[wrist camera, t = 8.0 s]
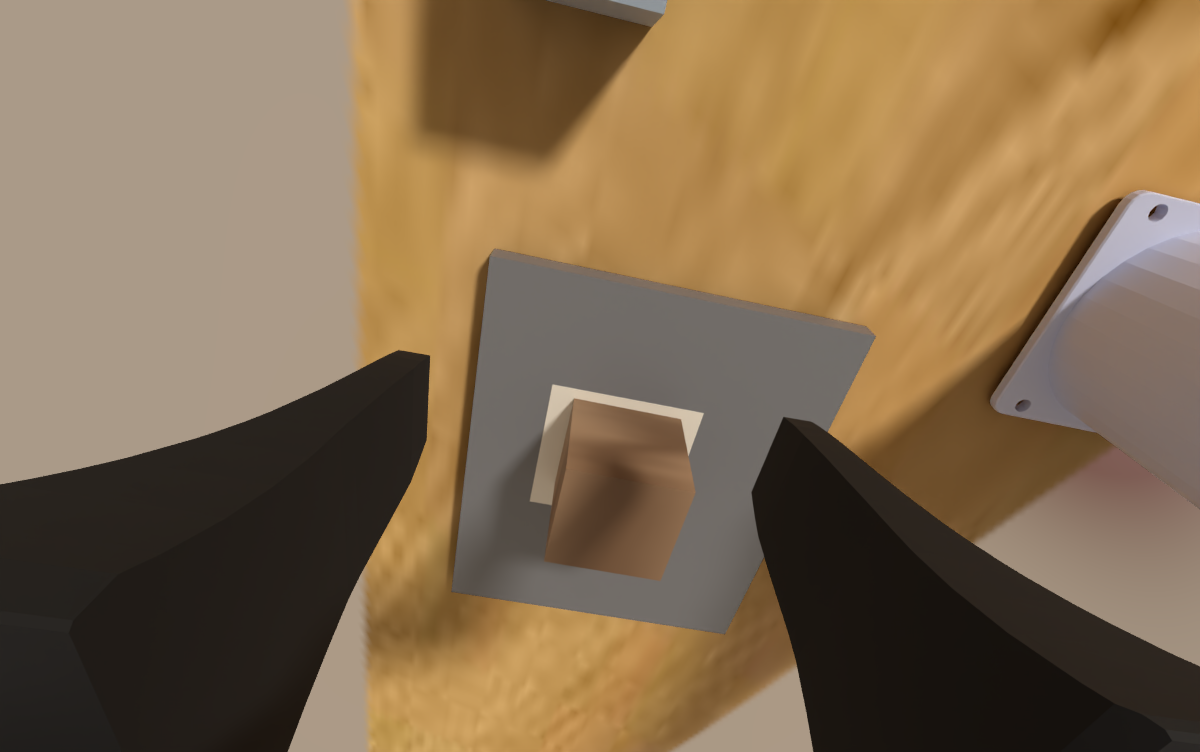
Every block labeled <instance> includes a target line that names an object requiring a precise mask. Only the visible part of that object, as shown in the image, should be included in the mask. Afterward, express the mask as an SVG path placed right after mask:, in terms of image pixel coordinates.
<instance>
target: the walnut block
mask: <svg viewBox="0 0 1200 752" xmlns="http://www.w3.org/2000/svg"><path fill="white" fill-rule="evenodd" d="M695 493H696V492H695V487H694V482H693V477H692V472H691V467H690V462H689V457H688V452H687V446H686V441H685V436H684V431H683V426H682V421H681V419H678V418H673V417H668V416H662V415H657V414H652V413H647V412H642V411H637V410H632V409H627V408H622V407H616V406H611V405H606V404H601V403H596V402H591V401H586V400H581V399H575V398H574V401H573V406H572V410H571V414H570V419H569V423H568V427H567V432H566V436H565V440H564V445H563V449H562V453H561V458H560V462H559V466H558V471H557V475H556V480H555V485H554V492H553V500H552V507H551V514H550V521H549V529H548V536H547V543H546V550H545V558H544V562H550V563H556V564H562V565H568V566H574V567H580V568H586V569H592V570H598V571H604V572H610V573H616V574H622V575H628V576H633V577H639V578H645V579H651V580H657V581H661V578H662V576H663V573H664V571H665V568H666V566H667V563H668V561H669V558H670V556H671V553H672V551H673V548H674V546H675V543H676V541H677V538H678V536H679V533H680V531H681V528H682V526H683V523H684V521H685V518H686V516H687V513H688V511H689V508H690V506H691V503H692V501H693V498H694V496H695Z"/></svg>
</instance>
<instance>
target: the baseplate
mask: <svg viewBox="0 0 1200 752" xmlns="http://www.w3.org/2000/svg"><path fill="white" fill-rule="evenodd" d="M875 337H876V336H875V335H874V334H873V333H872V332H871V331H870V330H869V329H868V328H867V327H866V326H862V325H857V324H852V323H847V322H843V321H838V320H833V319H828V318H823V317H819V316H814V315H809V314H804V313H800V312H795V311H790V310H785V309H781V308H776V307H771V306H766V305H761V304H757V303H752V302H747V301H742V300H738V299H733V298H728V297H723V296H719V295H714V294H709V293H704V292H700V291H695V290H690V289H685V288H680V287H676V286H671V285H666V284H661V283H657V282H652V281H647V280H642V279H638V278H633V277H628V276H623V275H618V274H614V273H609V272H604V271H599V270H595V269H590V268H585V267H580V266H576V265H571V264H566V263H561V262H556V261H552V260H547V259H542V258H537V257H533V256H528V255H523V254H518V253H514V252H509V251H504V250H499V249H494V250H493V252H492V253H491V255H490V259H489V268H488V277H487V285H486V294H485V303H484V312H483V320H482V329H481V338H480V347H479V356H478V364H477V373H476V382H475V391H474V399H473V408H472V417H471V426H470V434H469V443H468V452H467V461H466V470H465V478H464V487H463V496H462V505H461V513H460V522H459V531H458V540H457V548H456V557H455V566H454V575H453V584H452V592H456V593H462V594H469V595H475V596H482V597H488V598H495V599H501V600H508V601H514V602H520V603H527V604H533V605H540V606H546V607H553V608H559V609H566V610H572V611H578V612H585V613H591V614H598V615H604V616H611V617H617V618H624V619H630V620H636V621H643V622H649V623H656V624H662V625H669V626H675V627H682V628H688V629H695V630H701V631H707V632H714V633H720V634H725V633H726V631H727V629H728V627H729V625H730V623H731V621H732V619H733V617H734V615H735V613H736V611H737V609H738V608H739V606H740V604H741V602H742V600H743V598H744V596H745V594H746V592H747V590H748V588H749V586H750V584H751V582H752V580H753V578H754V576H755V574H756V572H757V570H758V568H759V566H760V564H761V562H762V560H763V558H764V554H763V551H762V548H761V544H760V541H759V537H758V533H757V527H756V521H755V516H754V508H753V501H752V494H751V492H752V489H753V487H754V485H755V482H756V480H757V478H758V475H759V473H760V471H761V468H762V466H763V464H764V461H765V459H766V457H767V454H768V452H769V449H770V447H771V445H772V442H773V440H774V438H775V435H776V433H777V431H778V428H779V426H780V424H781V421H782V419H783V417H788V418H793V419H799V420H805V421H811V422H813V423H815V424H816V425H818V426H819V427H821V428H822V429H824V430H825V431H826V432H828V430H829V428H830V426H831V424H832V422H833V420H834V418H835V416H836V414H837V412H838V410H839V408H840V406H841V404H842V402H843V400H844V398H845V396H846V394H847V392H848V390H849V388H850V387H851V385H852V383H853V381H854V379H855V377H856V375H857V373H858V371H859V369H860V367H861V365H862V363H863V361H864V359H865V357H866V355H867V353H868V351H869V349H870V347H871V345H872V343H873V341H874V339H875ZM574 398H575V399H581V400H586V401H591V402H596V403H601V404H606V405H611V406H616V407H622V408H627V409H632V410H637V411H642V412H647V413H652V414H657V415H662V416H668V417H673V418H678V419H681V421H682V426H683V431H684V436H685V441H686V446H687V452H688V457H689V462H690V467H691V472H692V477H693V482H694V487H695V492H696V493H695V496H694V498H693V501H692V503H691V506H690V508H689V511H688V513H687V516H686V518H685V521H684V523H683V526H682V528H681V531H680V533H679V536H678V538H677V541H676V543H675V546H674V548H673V551H672V553H671V556H670V558H669V561H668V563H667V566H666V568H665V571H664V573H663V576H662V578H661V581H657V580H651V579H645V578H639V577H633V576H628V575H622V574H616V573H610V572H604V571H598V570H592V569H586V568H580V567H574V566H568V565H562V564H556V563H550V562H544V558H545V550H546V543H547V536H548V529H549V521H550V514H551V507H552V500H553V492H554V485H555V480H556V475H557V471H558V466H559V462H560V458H561V453H562V449H563V445H564V440H565V436H566V432H567V427H568V423H569V419H570V414H571V410H572V406H573V401H574Z"/></svg>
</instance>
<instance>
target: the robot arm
mask: <svg viewBox="0 0 1200 752" xmlns="http://www.w3.org/2000/svg"><path fill="white" fill-rule="evenodd" d="M1155 206H1157V208H1156V210H1155V212H1154V213H1153V214H1152V215H1151V216H1150V217H1148V215H1149V213H1150V211H1151V210H1152V209H1153V208H1154V207H1155ZM429 369H430V356H429V355H424V354H418V353H412V352H406V351H401V350H398V351H396V352H393V353H391V354H389V355H387V356H385V357H383V358H381V359H379V360H377V361H375V362H373V363H371V364H369V365H367V366H365V367H363V368H361V369H360V370H358V371H356V372H354V373H352V374H350V375H348V376H346V377H344V378H342V379H340V380H338V381H336V382H334V383H332V384H330V385H328V386H326V387H324V388H322V389H320V390H318V391H316V392H313V393H311V394H309V395H307V396H304V397H302V398H300V399H298V400H296V401H293V402H291V403H289V404H287V405H285V406H282V407H280V408H278V409H275V410H273V411H271V412H268V413H266V414H263V415H261V416H259V417H256V418H253V419H251V420H248V421H246V422H243V423H240V424H237V425H234V426H231V427H228V428H226V429H223V430H220V431H217V432H214V433H211V434H209V435H205V436H202V437H199V438H196V439H192V440H189V441H185V442H182V443H178V444H175V445H171V446H167V447H164V448H160V449H157V450H153V451H150V452H146V453H142V454H139V455H135V456H132V457H128V458H124V459H120V460H116V461H112V462H108V463H103V464H99V465H94V466H90V467H86V468H82V469H77V470H73V471H67V472H62V473H58V474H53V475H48V476H43V477H38V478H33V479H28V480H22V481H17V482H12V483H6V484H0V752H288V749H289V746H290V744H291V741H292V739H293V736H294V733H295V731H296V728H297V725H298V723H299V720H300V718H301V715H302V712H303V710H304V707H305V704H306V702H307V699H308V697H309V694H310V692H311V689H312V687H313V684H314V682H315V679H316V677H317V674H318V672H319V669H320V667H321V664H322V662H323V659H324V656H325V654H326V652H327V649H328V647H329V644H330V642H331V640H332V637H333V635H334V632H335V630H336V628H337V625H338V623H339V620H340V618H341V615H342V613H343V611H344V608H345V606H346V603H347V601H348V599H349V597H350V595H351V593H352V591H353V589H354V587H355V585H356V583H357V581H358V579H359V576H360V575H361V573H362V571H363V569H364V567H365V565H366V564H367V562H368V560H369V558H370V556H371V554H372V553H373V551H374V549H375V547H376V545H377V543H378V542H379V540H380V538H381V536H382V534H383V533H384V531H385V529H386V527H387V525H388V523H389V522H390V520H391V518H392V516H393V514H394V512H395V510H396V509H397V507H398V505H399V503H400V501H401V499H402V497H403V496H404V494H405V492H406V490H407V488H408V486H409V484H410V482H411V480H412V477H413V475H414V472H415V470H416V467H417V465H418V462H419V459H420V456H421V454H422V451H423V448H424V445H425V443H426V440H427V417H428V393H429ZM1022 400H1023V401H1022ZM1019 401H1022V402H1021V403H1020V404H1019V405H1016V404H1017V403H1018V402H1019ZM990 405H991V406H992V407H993V408H994V409H995V410H996V411H997V412H999V413H1001V414H1006V415H1011V416H1016V417H1021V418H1026V419H1031V420H1036V421H1041V422H1046V423H1051V424H1056V425H1061V426H1066V427H1071V428H1076V429H1081V430H1086V431H1091V432H1096V433H1098V434H1100V435H1101V436H1102V437H1104V438H1105V439H1106V440H1108V441H1109V442H1110V443H1112V444H1113V445H1114V446H1116V447H1117V448H1119V449H1120V450H1121V451H1122V452H1124V453H1125V454H1127V455H1128V456H1129V457H1130V458H1132V459H1133V460H1134V461H1136V462H1137V463H1138V464H1140V465H1141V466H1143V467H1144V468H1145V469H1146V470H1148V471H1149V472H1150V473H1152V474H1153V475H1154V476H1156V477H1157V478H1158V479H1160V480H1161V481H1162V482H1164V483H1165V484H1167V485H1168V486H1169V487H1171V488H1172V489H1173V490H1175V491H1176V492H1177V493H1178V494H1180V495H1181V496H1182V497H1184V498H1185V499H1187V500H1188V501H1189V502H1191V503H1192V504H1193V505H1194V506H1196V507H1197V508H1199V509H1200V203H1195V202H1191V201H1187V200H1183V199H1179V198H1175V197H1171V196H1167V195H1163V194H1159V193H1154V192H1150V191H1146V190H1137V191H1135V192H1132V193H1130V194H1128V195H1127V196H1125V197H1124V198H1123V199H1122V200H1121V202H1120V203H1119V204H1118V205H1117V207H1116V209H1115V210H1114V212H1113V213H1112V215H1111V216H1110V218H1109V219H1108V221H1107V222H1106V224H1105V225H1104V227H1103V228H1102V230H1101V231H1100V233H1099V234H1098V236H1097V237H1096V239H1095V240H1094V242H1093V243H1092V245H1091V246H1090V248H1089V249H1088V251H1087V252H1086V254H1085V255H1084V257H1083V258H1082V260H1081V261H1080V263H1079V265H1078V266H1077V268H1076V269H1075V271H1074V272H1073V274H1072V275H1071V277H1070V278H1069V280H1068V281H1067V283H1066V284H1065V286H1064V287H1063V289H1062V290H1061V292H1060V293H1059V295H1058V296H1057V298H1056V299H1055V301H1054V302H1053V304H1052V305H1051V307H1050V308H1049V310H1048V311H1047V313H1046V314H1045V316H1044V317H1043V319H1042V320H1041V322H1040V324H1039V325H1038V327H1037V328H1036V330H1035V331H1034V333H1033V334H1032V336H1031V337H1030V339H1029V340H1028V342H1027V343H1026V345H1025V346H1024V348H1023V349H1022V351H1021V352H1020V354H1019V355H1018V357H1017V358H1016V360H1015V361H1014V363H1013V364H1012V366H1011V367H1010V369H1009V370H1008V372H1007V373H1006V375H1005V376H1004V378H1003V379H1002V381H1001V383H1000V384H999V386H998V387H997V389H996V390H995V392H994V393H993V395H992V396H991V399H990ZM751 494H752V501H753V508H754V516H755V521H756V527H757V533H758V537H759V541H760V544H761V548H762V551H763V554H764V557H765V561H766V564H767V567H768V570H769V574H770V577H771V580H772V583H773V586H774V589H775V593H776V596H777V599H778V602H779V605H780V608H781V611H782V615H783V618H784V621H785V624H786V627H787V630H788V634H789V637H790V640H791V644H792V648H793V652H794V655H795V659H796V663H797V668H798V673H799V678H800V682H801V688H802V693H803V697H804V702H805V707H806V712H807V718H808V723H809V729H810V735H811V741H812V746H813V752H1200V667H1199V666H1198V665H1195V664H1193V663H1191V662H1188V661H1186V660H1184V659H1182V658H1179V657H1177V656H1175V655H1173V654H1171V653H1168V652H1167V651H1165V650H1162V649H1160V648H1158V647H1156V646H1154V645H1152V644H1150V643H1148V642H1146V641H1144V640H1142V639H1140V638H1138V637H1136V636H1134V635H1132V634H1130V633H1128V632H1126V631H1124V630H1122V629H1120V628H1118V627H1116V626H1114V625H1112V624H1110V623H1108V622H1106V621H1104V620H1102V619H1100V618H1099V617H1097V616H1095V615H1093V614H1091V613H1089V612H1087V611H1085V610H1083V609H1082V608H1080V607H1077V606H1076V605H1074V604H1072V603H1070V602H1069V601H1067V600H1065V599H1063V598H1062V597H1060V596H1058V595H1056V594H1055V593H1053V592H1051V591H1049V590H1048V589H1046V588H1044V587H1042V586H1041V585H1039V584H1037V583H1035V582H1033V581H1032V580H1030V579H1028V578H1027V577H1025V576H1023V575H1022V574H1020V573H1018V572H1017V571H1015V570H1013V569H1012V568H1010V567H1008V566H1007V565H1005V564H1004V563H1002V562H1000V561H999V560H997V559H996V558H994V557H993V556H991V555H990V554H988V553H987V552H985V551H984V550H982V549H980V548H979V547H977V546H976V545H974V544H973V543H971V542H970V541H968V540H967V539H965V538H964V537H962V536H961V535H959V534H958V533H956V532H955V531H954V530H952V529H951V528H949V527H948V526H946V525H945V524H944V523H942V522H941V521H940V520H938V519H937V518H936V517H934V516H933V515H931V514H930V513H929V512H927V511H926V510H925V509H923V508H922V507H921V506H919V505H918V504H917V503H915V502H914V501H913V500H911V499H910V498H909V497H908V496H906V495H905V494H904V493H902V492H901V491H900V490H899V489H897V488H896V487H895V486H894V485H892V484H891V483H890V482H889V481H887V480H886V479H885V478H884V477H882V476H881V475H880V474H879V473H877V472H876V471H875V470H874V469H873V468H871V467H870V466H869V465H868V464H866V463H865V462H864V461H863V460H862V459H860V458H859V457H858V456H857V455H855V454H854V453H853V452H852V451H851V450H849V449H848V448H847V447H846V446H844V445H843V444H842V443H841V442H839V441H838V440H837V439H836V438H834V437H833V436H832V435H830V434H829V433H828V432H826V431H825V430H824V429H822V428H821V427H819V426H818V425H816V424H815V423H813V422H811V421H805V420H799V419H793V418H788V417H783V419H782V421H781V424H780V426H779V428H778V431H777V433H776V435H775V438H774V440H773V442H772V445H771V447H770V449H769V452H768V454H767V457H766V459H765V461H764V464H763V466H762V468H761V471H760V473H759V475H758V478H757V480H756V482H755V485H754V487H753V489H752V492H751Z"/></svg>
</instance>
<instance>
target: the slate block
mask: <svg viewBox="0 0 1200 752" xmlns="http://www.w3.org/2000/svg"><path fill="white" fill-rule="evenodd" d="M546 1H550V2H554V3H558V4H562V5H566V6H570V7H574V8H578V9H582V10H586V11H590V12H594V13H598V14H602V15H606V16H610V17H614V18H618V19H622V20H626V21H630V22H634V23H638V24H642V25H646V26H650V27H652V26H653V25H654V24H655V23H656V22H657V21H658V20H659V19H660V18H661V17H662V16H663V15H664V12H665V7H666V3H667V0H546Z"/></svg>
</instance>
